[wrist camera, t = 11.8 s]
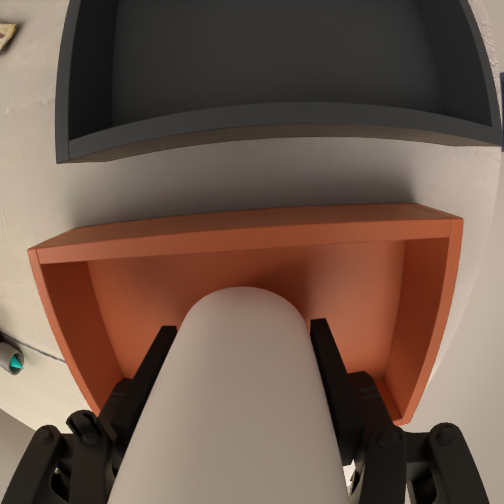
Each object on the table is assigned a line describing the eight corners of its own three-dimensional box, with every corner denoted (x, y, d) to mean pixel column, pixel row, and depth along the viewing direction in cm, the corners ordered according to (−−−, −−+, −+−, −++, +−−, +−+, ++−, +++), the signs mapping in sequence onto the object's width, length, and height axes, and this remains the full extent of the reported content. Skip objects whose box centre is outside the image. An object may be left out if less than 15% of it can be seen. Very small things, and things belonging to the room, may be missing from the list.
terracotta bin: (416, 203, 13) (464, 218, 9) (389, 381, 17) (410, 423, 13) (73, 228, 14) (26, 249, 10) (125, 392, 18) (104, 431, 14)
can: (173, 283, 13) (32, 524, 2) (310, 279, 13) (409, 563, 1) (193, 383, 15) (144, 573, 3) (304, 381, 15) (334, 582, 3)
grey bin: (413, -21, 8) (441, -49, 4) (454, 146, 12) (503, 146, 8) (113, -14, 9) (83, -44, 5) (105, 161, 13) (56, 164, 9)
